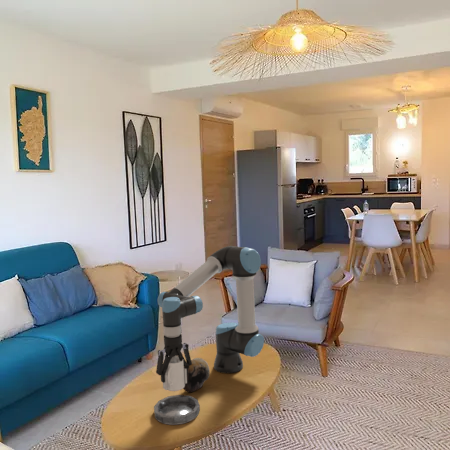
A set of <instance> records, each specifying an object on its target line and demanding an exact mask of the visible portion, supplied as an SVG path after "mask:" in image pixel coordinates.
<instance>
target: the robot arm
mask: <svg viewBox="0 0 450 450" xmlns="http://www.w3.org/2000/svg"><path fill="white" fill-rule="evenodd" d="M261 265H262V260H261V255H260V254H259V252H258V251H257V250H256V249H255V248H250V247H244V246H243V247H242V246H234V245H227V246H224V247H222V248H219V249H218V250H216V251H215V252H213V253H212V254H210V255H209V256H208V257H207V258H206V261H205V262H203V264H201V265H200V266H198V267H197V268H196V269H195V270H194V271H193V272H192V273H190V274H189V275H188V276H187V277H186V278H184V279H183V280H182V281H181V282H179V283H178V284H176V286H175V287H174V288H172V289H171V290H170V291H162V292H159V295H158V297H157V305H158V307H160V308H161V311H162V324H163V325H162V326H163V327H162V329H163V344H164V348H163V349H158V350H157V355H158V357H157V363H156V371H155V372H156V375H158V376H160V382H161V383H162V389H164V390H165V391H169V390H168V383H167V375H166V371H167V368H168V365H169V362H170V360H171V359H172V357H174V356H178V357H179V359H180V361H182V360H183V363H184V383H185V384H186V383H187V375H188V368H189V366H190V365H192V362H191V360H192V358H191V354H190V351H189V346H190V345H189V343H187V342H183V338H182V337H183V334H182V319H183V318H186V317H189V316H192V315H196V314H198V313H200V312H201V311H203V307H204V305H203V304H204V303H203V300H202V299H201V297H200V296H199V295H192V294H193V293H195V292H196V291H197V290H199V289H200V288H201V287H202V286H203V285H204V284H206V283H207V282H208V281H209V280H210V279H211V278H212V277H214V276H215V275H216V274H220V273H222V272H223V271H225V270H231V271H232V277H233V278H235V287H236V290H235V291H236V310H237V311H236V312H237V313H236V314H237V322H232V321H231V322H224V323H221V324H217V326H216V328H215V345H216V347H215V348H216V355H215V359H214V362H213V369H214V370H215V372H218V373H221V374H222V373H223V374H232V373H233V374H234V373H238V372H240V371H241V370H242V369H243V367H244V362H243V358H242V357H241V355H245V356H246V357H251V358H254V357H257V356H258V355H259V354H260V353H261V352H262V349H263V347H264V345H265V339H264V336H263V335H262V334H261V333H260V329H259V326H258V325H257V324H256V311H255V309H256V308H255V307H256V305H255V290H254V289H255V286H254V284H255V283H254V278H255V277H256V276H257V273H258V272H259V270H260V268H261ZM182 351H183V353H182ZM183 354H184V356H183Z"/></svg>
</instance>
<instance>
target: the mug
mask: <svg viewBox="0 0 450 450" xmlns="http://www.w3.org/2000/svg"><path fill="white" fill-rule="evenodd" d="M166 375H167V383H168V390H167V391H170V392H177V391H181V390H184V389H183V388H184V387H185V383H184V363H183V360H182V361H180V359H179V357H178V356H174V357H172V359H171V360H170V362H169V365H168V368H167V371H166Z"/></svg>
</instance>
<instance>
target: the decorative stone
mask: <svg viewBox="0 0 450 450" xmlns="http://www.w3.org/2000/svg"><path fill="white" fill-rule="evenodd" d="M191 362H192V365H190V366H189V368H188V375H187V383H186V384H185V387H184V388H183V389H182V390H183V391H185V392H186V393H194V392H196V391H198V390H200V389H201V388H202V387H203V385H204V383H205V382H206V381H207V380H208V379H209V378H210V374H211V373H210V366H209V363H208V362H207V361H206V359H204V358H202V357H195V358H193V359H191Z"/></svg>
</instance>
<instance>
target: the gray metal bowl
mask: <svg viewBox="0 0 450 450" xmlns="http://www.w3.org/2000/svg"><path fill="white" fill-rule="evenodd" d="M200 408H201V407H200V403H199V400H198V399H197V398H195V397H193V396H192V395H186V394H175V395H170V396H167V397H164V398H161V399H160V400H158V401H157V402H156V404H155V405H154V406H153V411H154V412H153V413H154V418H155V420H156V421H158V422H159V423H161V424H164V425H169V426H177V425H178V426H179V425H184V424H187V423H189V422H191V421H193V420H195V419H196V418H197V417H198V416H199V414H200V412H201V411H200V410H201V409H200Z"/></svg>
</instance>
